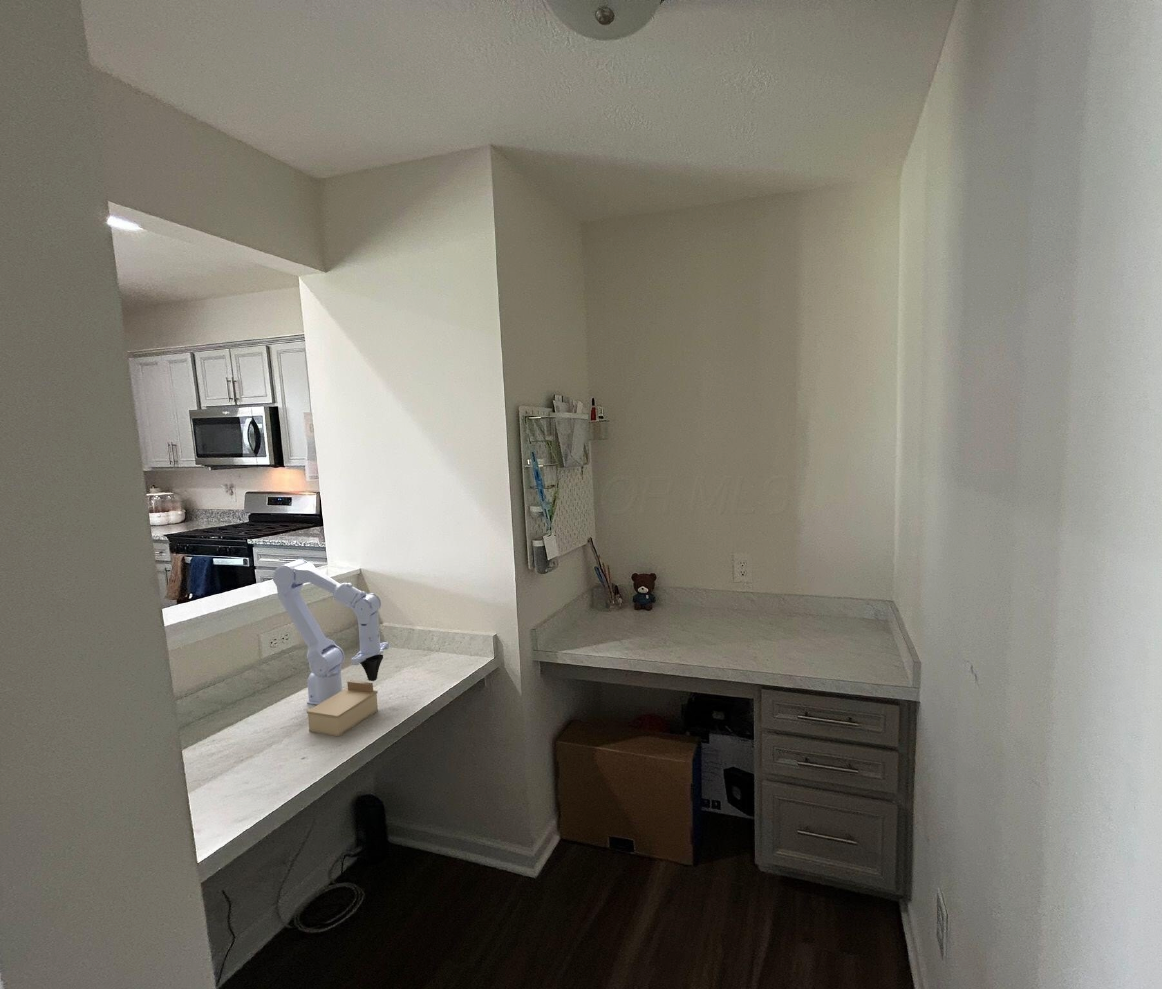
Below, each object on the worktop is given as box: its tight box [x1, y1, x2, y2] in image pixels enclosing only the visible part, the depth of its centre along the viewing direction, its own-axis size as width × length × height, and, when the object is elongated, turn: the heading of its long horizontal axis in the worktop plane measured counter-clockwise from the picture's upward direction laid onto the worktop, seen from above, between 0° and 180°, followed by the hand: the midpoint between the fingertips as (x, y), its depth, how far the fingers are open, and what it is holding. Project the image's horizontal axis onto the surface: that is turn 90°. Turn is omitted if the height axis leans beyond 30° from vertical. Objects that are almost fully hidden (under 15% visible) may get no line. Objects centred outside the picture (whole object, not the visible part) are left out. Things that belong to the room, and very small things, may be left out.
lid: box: [306, 679, 378, 718], centre depth 175 cm, size 16×10×3 cm, turn 160°
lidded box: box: [307, 693, 379, 737], centre depth 176 cm, size 16×10×5 cm, turn 160°
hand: (372, 680), depth 187 cm, fingers closed
